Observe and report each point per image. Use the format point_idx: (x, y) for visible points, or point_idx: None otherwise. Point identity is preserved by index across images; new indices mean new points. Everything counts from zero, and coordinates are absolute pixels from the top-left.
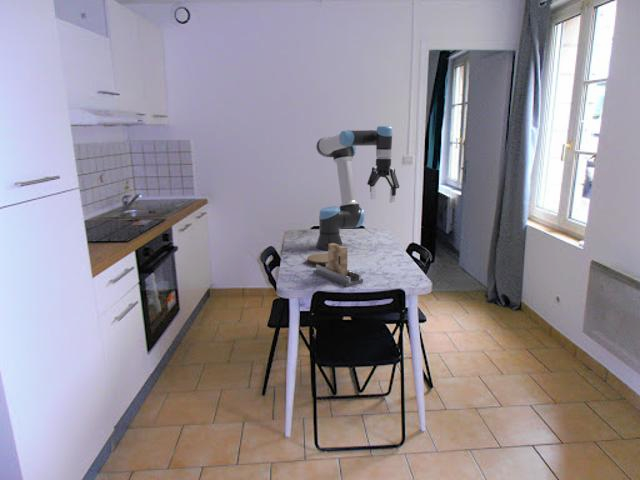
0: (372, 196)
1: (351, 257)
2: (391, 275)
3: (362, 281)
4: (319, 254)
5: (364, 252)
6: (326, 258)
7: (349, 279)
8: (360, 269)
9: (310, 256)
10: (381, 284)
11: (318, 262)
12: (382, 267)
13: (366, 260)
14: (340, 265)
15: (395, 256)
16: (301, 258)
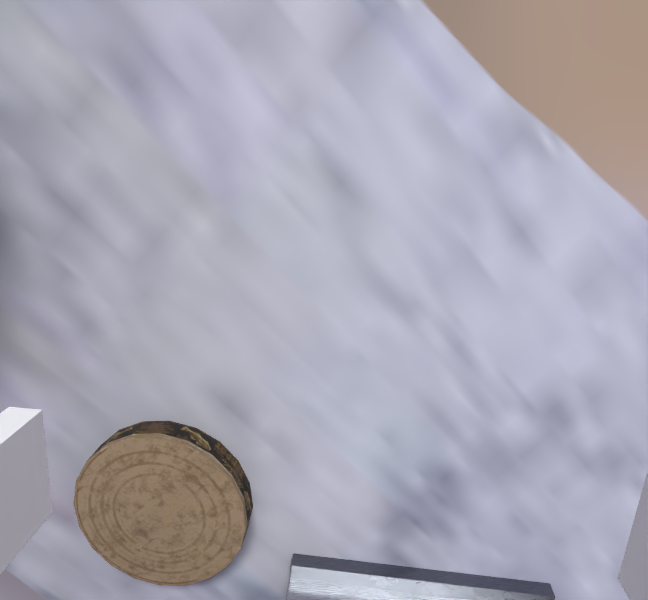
0: (11, 535)
1: (189, 318)
2: (598, 417)
3: (550, 591)
4: (96, 486)
5: (148, 164)
6: (187, 514)
7: None
8: (399, 451)
9: (102, 542)
10: None
11: (211, 574)
12: (467, 340)
13: (298, 300)
14: None
15: (366, 71)
16: None
